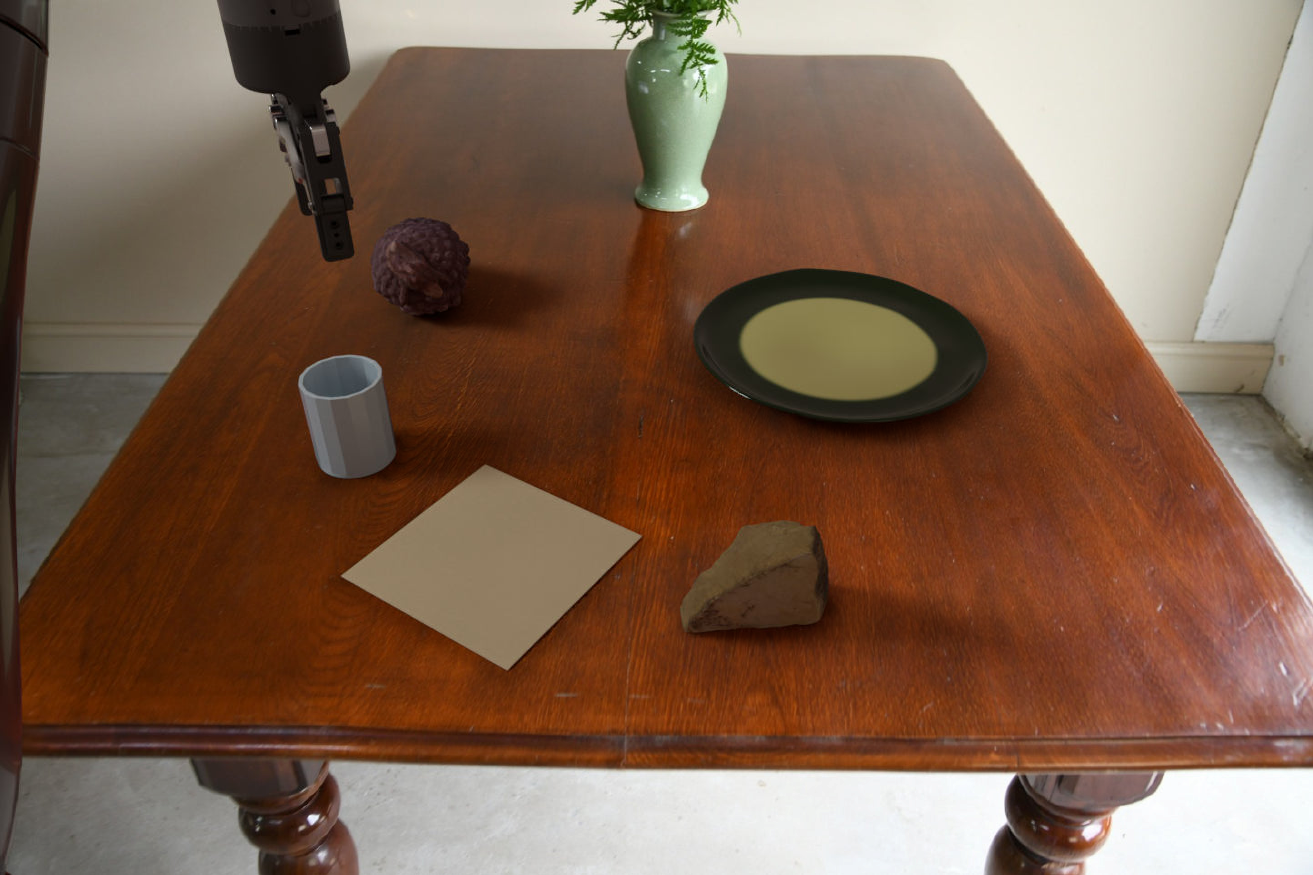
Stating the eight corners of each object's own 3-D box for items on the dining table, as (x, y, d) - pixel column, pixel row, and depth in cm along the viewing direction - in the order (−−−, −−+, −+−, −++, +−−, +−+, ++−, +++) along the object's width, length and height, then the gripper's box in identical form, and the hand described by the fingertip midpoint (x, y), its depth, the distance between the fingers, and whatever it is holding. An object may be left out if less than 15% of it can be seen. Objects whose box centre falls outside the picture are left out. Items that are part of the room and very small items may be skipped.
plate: (660, 305, 108) (660, 284, 107) (903, 274, 114) (907, 254, 112) (744, 464, 86) (746, 441, 85) (1039, 417, 92) (1046, 394, 91)
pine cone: (354, 274, 113) (387, 189, 111) (439, 306, 117) (472, 225, 115) (360, 310, 97) (398, 212, 96) (458, 346, 101) (496, 253, 99)
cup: (355, 488, 84) (337, 408, 79) (301, 461, 87) (281, 382, 82) (412, 448, 88) (398, 370, 83) (359, 423, 91) (342, 346, 86)
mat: (507, 670, 69) (507, 669, 69) (341, 576, 76) (340, 575, 76) (642, 536, 79) (642, 535, 79) (485, 465, 86) (485, 464, 86)
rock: (655, 638, 68) (805, 660, 65) (666, 509, 68) (816, 524, 65) (701, 617, 78) (832, 635, 75) (710, 505, 78) (842, 518, 75)
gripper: (206, -13, 71) (260, 208, 80) (234, 41, 60) (292, 286, 70) (317, -24, 73) (356, 191, 83) (362, 26, 63) (401, 264, 73)
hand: (327, 234), depth 76 cm, fingers open, 8 cm apart
